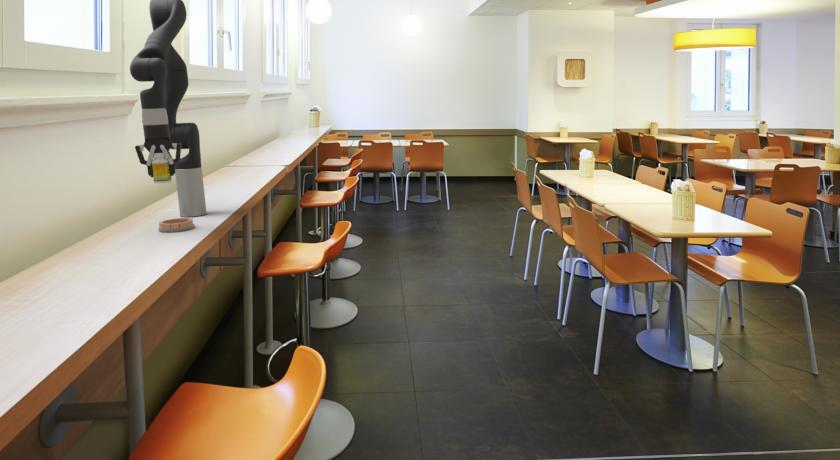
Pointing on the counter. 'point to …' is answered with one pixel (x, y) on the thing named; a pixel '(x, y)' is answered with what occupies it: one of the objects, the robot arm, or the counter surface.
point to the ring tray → (176, 225)
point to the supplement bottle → (161, 168)
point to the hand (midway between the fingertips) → (162, 176)
